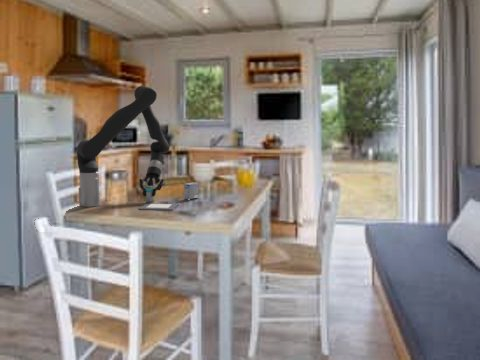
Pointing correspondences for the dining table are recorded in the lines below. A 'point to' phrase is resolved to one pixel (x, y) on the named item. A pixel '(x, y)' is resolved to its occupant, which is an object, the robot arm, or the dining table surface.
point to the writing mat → (158, 206)
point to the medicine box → (191, 190)
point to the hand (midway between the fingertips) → (148, 195)
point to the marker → (149, 195)
